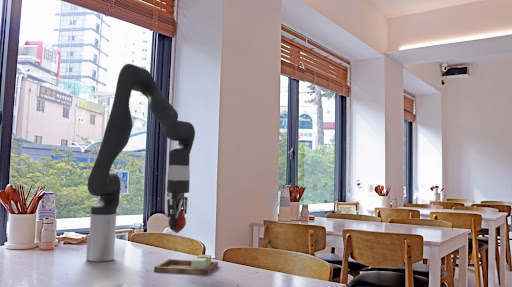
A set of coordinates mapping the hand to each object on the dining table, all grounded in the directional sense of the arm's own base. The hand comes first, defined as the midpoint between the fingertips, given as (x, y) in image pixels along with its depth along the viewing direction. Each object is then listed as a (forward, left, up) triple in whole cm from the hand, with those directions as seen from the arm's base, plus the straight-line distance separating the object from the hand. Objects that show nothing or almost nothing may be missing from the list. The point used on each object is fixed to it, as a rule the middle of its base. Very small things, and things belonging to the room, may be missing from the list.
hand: (176, 228), depth 147 cm
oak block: (+9, +3, -13) cm, 16 cm away
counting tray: (+4, 0, -15) cm, 15 cm away
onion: (0, 0, -2) cm, 2 cm away
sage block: (+9, -3, -13) cm, 16 cm away
